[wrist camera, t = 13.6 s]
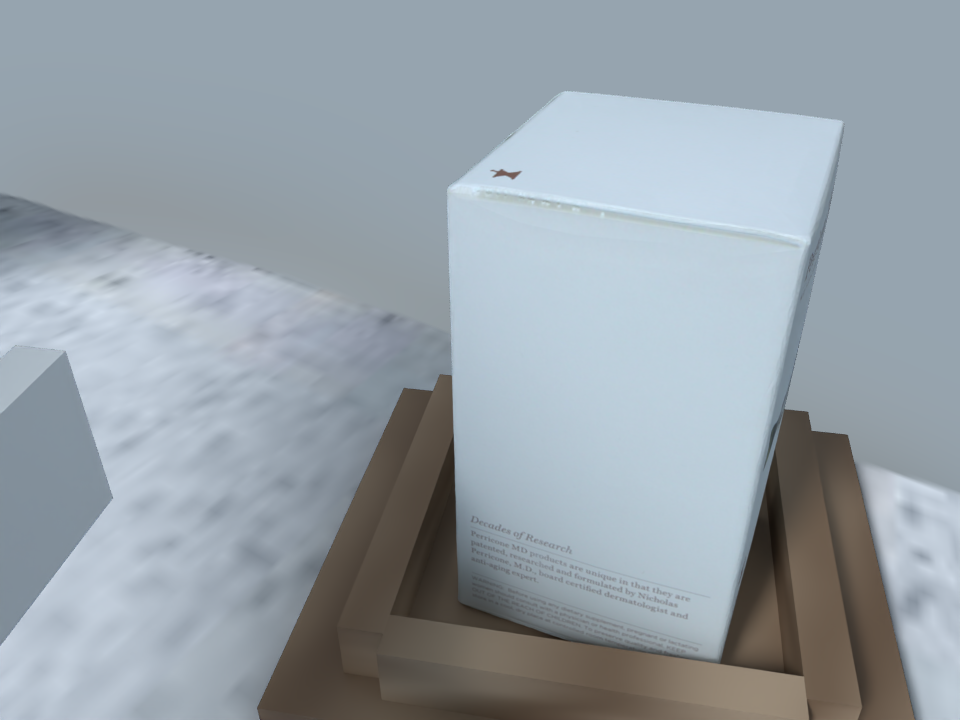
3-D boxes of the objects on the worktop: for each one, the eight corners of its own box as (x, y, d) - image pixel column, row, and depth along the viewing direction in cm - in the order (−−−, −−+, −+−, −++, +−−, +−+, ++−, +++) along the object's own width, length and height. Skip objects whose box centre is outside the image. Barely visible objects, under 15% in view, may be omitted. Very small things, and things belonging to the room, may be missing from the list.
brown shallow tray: (264, 736, 23) (233, 613, 20) (405, 413, 34) (398, 308, 32) (925, 854, 20) (988, 730, 18) (840, 461, 32) (871, 350, 29)
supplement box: (716, 699, 22) (816, 243, 15) (450, 606, 25) (431, 179, 18) (766, 511, 28) (855, 114, 21) (544, 451, 30) (558, 80, 23)
